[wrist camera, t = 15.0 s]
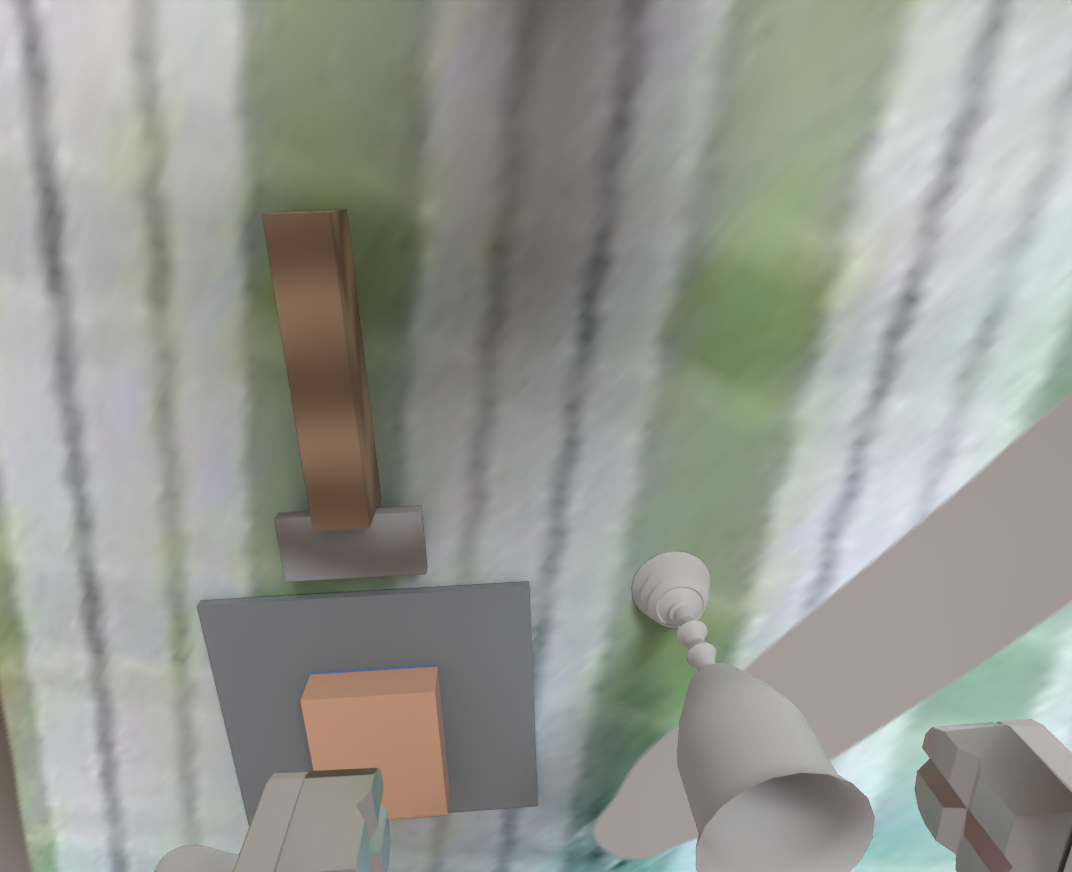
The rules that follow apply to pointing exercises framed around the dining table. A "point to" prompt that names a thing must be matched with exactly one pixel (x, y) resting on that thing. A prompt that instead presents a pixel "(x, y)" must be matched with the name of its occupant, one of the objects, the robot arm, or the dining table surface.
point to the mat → (382, 642)
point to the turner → (332, 411)
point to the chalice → (749, 752)
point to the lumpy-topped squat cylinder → (197, 860)
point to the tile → (383, 732)
